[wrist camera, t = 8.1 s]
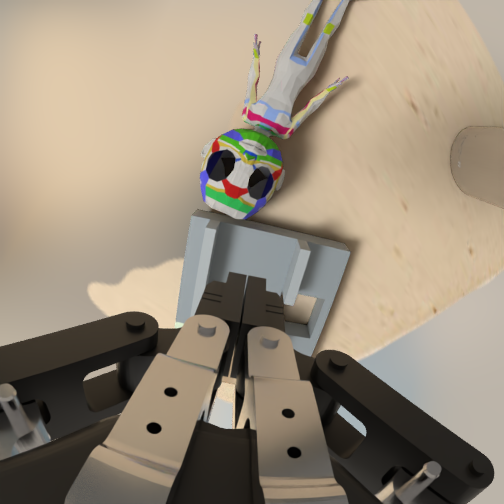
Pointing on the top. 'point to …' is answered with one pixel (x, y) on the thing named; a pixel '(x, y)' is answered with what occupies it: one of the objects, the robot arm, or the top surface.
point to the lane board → (262, 267)
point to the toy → (266, 123)
